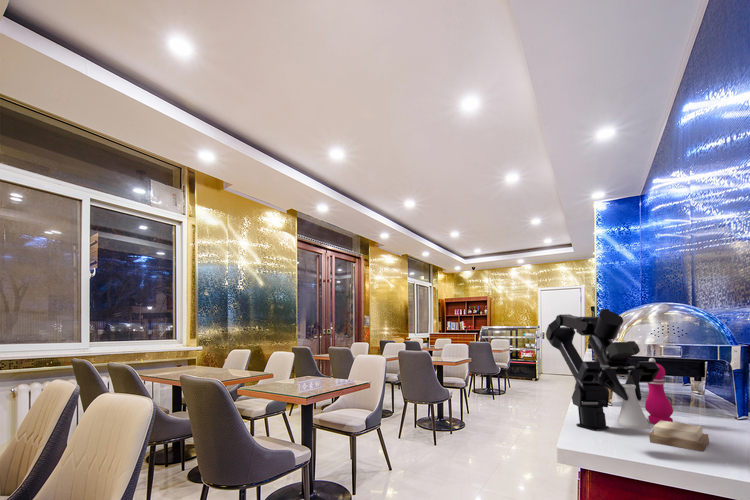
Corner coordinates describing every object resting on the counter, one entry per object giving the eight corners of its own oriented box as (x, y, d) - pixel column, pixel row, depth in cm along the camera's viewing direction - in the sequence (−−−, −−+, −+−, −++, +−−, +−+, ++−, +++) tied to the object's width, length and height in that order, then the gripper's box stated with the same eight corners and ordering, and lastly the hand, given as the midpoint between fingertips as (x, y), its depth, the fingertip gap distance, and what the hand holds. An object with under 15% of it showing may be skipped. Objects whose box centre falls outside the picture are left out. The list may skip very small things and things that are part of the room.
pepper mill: (670, 421, 123) (660, 357, 127) (679, 427, 116) (669, 359, 120) (643, 419, 125) (635, 356, 129) (651, 425, 118) (642, 358, 122)
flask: (657, 431, 91) (651, 387, 93) (624, 430, 92) (618, 386, 94) (643, 423, 98) (637, 383, 100) (612, 422, 99) (607, 382, 101)
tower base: (649, 442, 101) (647, 426, 102) (659, 434, 109) (656, 419, 110) (703, 451, 94) (700, 434, 94) (709, 442, 101) (706, 426, 102)
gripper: (578, 330, 104) (603, 378, 91) (649, 330, 103) (685, 379, 90) (569, 358, 110) (591, 406, 97) (636, 358, 109) (668, 407, 96)
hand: (633, 399), depth 95 cm, fingers closed on flask, 3 cm apart
